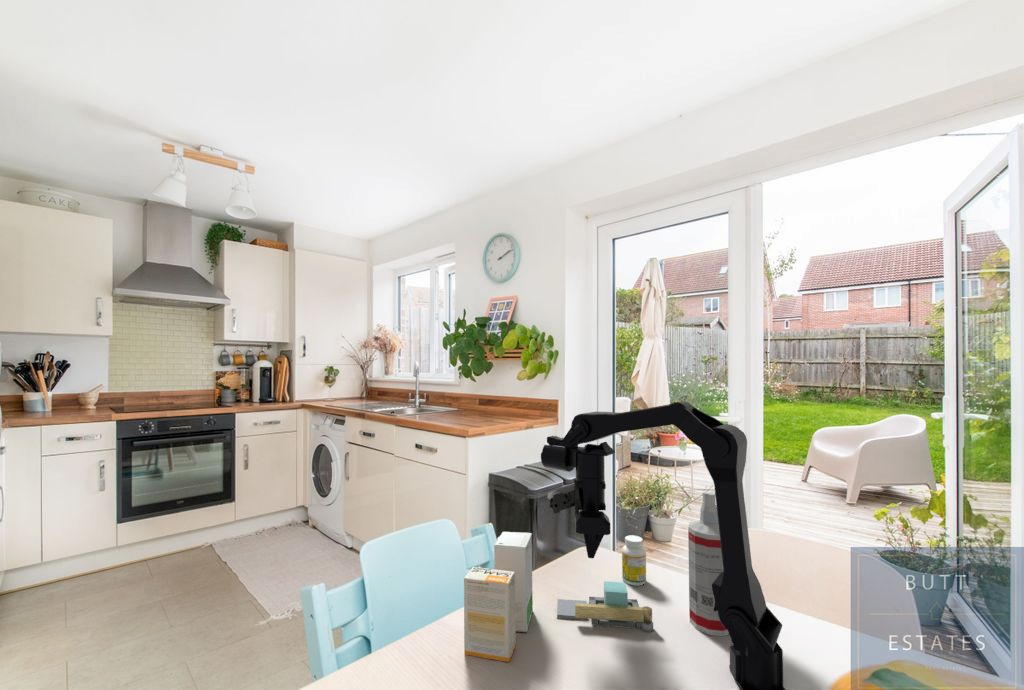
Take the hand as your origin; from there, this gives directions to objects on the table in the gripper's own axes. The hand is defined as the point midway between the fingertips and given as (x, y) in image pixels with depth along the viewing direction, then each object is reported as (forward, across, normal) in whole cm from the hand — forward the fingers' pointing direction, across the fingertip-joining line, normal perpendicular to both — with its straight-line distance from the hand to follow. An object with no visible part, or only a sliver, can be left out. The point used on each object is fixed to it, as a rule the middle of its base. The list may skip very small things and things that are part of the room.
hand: (590, 554), depth 89 cm
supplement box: (+12, +13, -18) cm, 25 cm away
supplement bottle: (+12, -16, +11) cm, 23 cm away
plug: (+12, 0, +5) cm, 13 cm away
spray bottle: (+12, 0, +23) cm, 26 cm away
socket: (+12, 0, +5) cm, 13 cm away
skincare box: (+12, +3, -15) cm, 20 cm away
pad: (+12, -2, -4) cm, 13 cm away
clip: (+11, +3, +4) cm, 12 cm away
